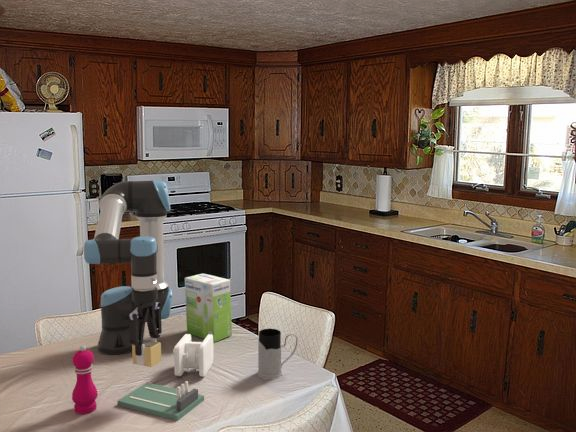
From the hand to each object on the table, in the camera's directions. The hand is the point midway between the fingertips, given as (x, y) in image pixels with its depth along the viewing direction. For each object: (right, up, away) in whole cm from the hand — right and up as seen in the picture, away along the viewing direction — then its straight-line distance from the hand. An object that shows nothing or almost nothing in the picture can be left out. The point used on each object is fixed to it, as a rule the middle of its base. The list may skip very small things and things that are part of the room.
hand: (146, 361), depth 171 cm
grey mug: (+40, -10, +22) cm, 47 cm away
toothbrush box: (+11, -5, +59) cm, 60 cm away
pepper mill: (-17, -13, -5) cm, 22 cm away
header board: (+5, -13, 0) cm, 14 cm away
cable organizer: (+11, -10, +23) cm, 27 cm away
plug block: (0, 0, 0) cm, 0 cm away
